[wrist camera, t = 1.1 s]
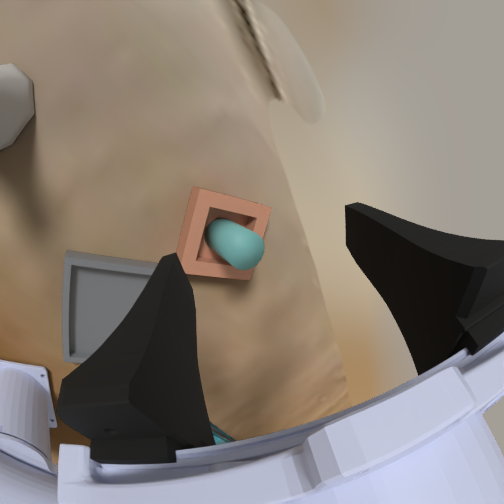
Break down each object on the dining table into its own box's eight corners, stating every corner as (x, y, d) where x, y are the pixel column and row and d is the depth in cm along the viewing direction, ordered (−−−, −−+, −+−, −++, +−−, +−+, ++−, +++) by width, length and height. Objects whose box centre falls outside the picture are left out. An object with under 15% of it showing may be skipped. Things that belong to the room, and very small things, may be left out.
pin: (230, 252, 27) (257, 272, 22) (200, 247, 25) (224, 268, 21) (239, 221, 26) (268, 235, 22) (209, 214, 24) (235, 228, 20)
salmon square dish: (241, 273, 28) (250, 280, 27) (173, 265, 24) (179, 272, 23) (261, 204, 27) (271, 207, 25) (193, 186, 23) (200, 188, 22)
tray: (160, 357, 27) (164, 366, 25) (64, 351, 21) (63, 361, 20) (178, 265, 25) (183, 272, 23) (66, 250, 19) (65, 256, 18)
